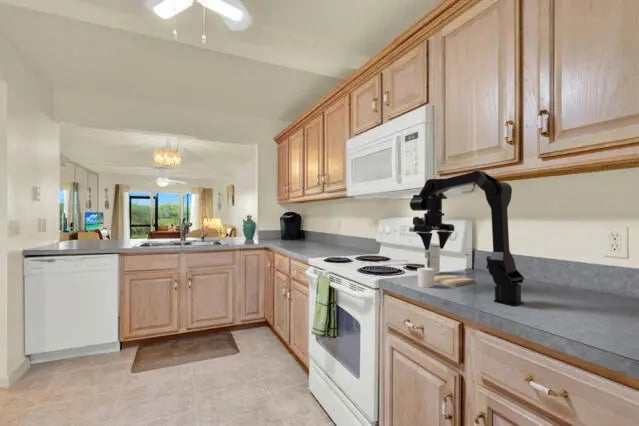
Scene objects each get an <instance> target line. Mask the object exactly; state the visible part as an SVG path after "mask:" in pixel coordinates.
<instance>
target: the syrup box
mask: <svg viewBox="0 0 639 426" xmlns="http://www.w3.org/2000/svg"><path fill="white" fill-rule="evenodd" d="M440 251H441V249H440V245H439V244H437V243H432V242H430V246H429V250H425V249H424V268H433V269H435V275H440V268H441V267H440V266H441V265H440V262H441V261H440V260H441V259H440V257H441V255H440V253H441V252H440Z"/></svg>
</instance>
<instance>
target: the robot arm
mask: <svg viewBox="0 0 639 426" xmlns="http://www.w3.org/2000/svg"><path fill="white" fill-rule="evenodd" d="M473 184H476V185H477V186H478V188H480V189H481V190H482V191H483V192H484V194H485V198H486V202H487V203H488V206H489V207H490V211H491V212H490V214H491V230H492V231H491V232H492V233H491V234H492V235H491V236H492V253H491V255H486V262H487V264H486V269H488V274H489V275H491V277H492V280H493V283H494V284H495V286H494V299H493V302H496V303H499V304H504V305H509V306H515V307H516V306H519V305H521V304H524V301H523V300H522V284H523V282H524V280H525V277H524V276H523V275H522V273H521V272H520V271H519V270H518V269H517V268H516V262H515V259H514V257H513V255H512V253H511V251H510V239H509V237H510V236H509V218H508V217H509V216H508V207H509V205H510V202H511V200H512V193H513V188H512V186H511V185H510V183H508V182H506V181H505V182H504V181H500V180H499V179H497V178H495V177H494V176H491V175H489V174H488V173H487V172H485V171H482V170H474V171H472V172H468V173H464V174H458V175H455V176H451V177H447V178H428V179H426V180H425V183H424V185H423V187H422V189H421V191H420V192H419V194H413V195H412V196H413V197H412V198H411V199H410V201H409V207H410V209H411V210H412V212H413V211H415V212H420V211H422V212H423V211H424V212H425V213H424V214H423V217H420V216H414V217H412V225H413V232H415V234H417V235H418V236H419V237H420V239H421V241H422V243H423V246H424V251H425V250H429V246H430V243H432V237H433V232H432V231H435V232H436V234H437V235H438V241H439V244H438V245H440V250H443V249H444V247H445V245H446V244H447V242H448V240H449V238H450V237H451V234H453V232H455V225H454V224H453V223H451V224H450V223H443V217H444V216H445V213H444V212H443V200H447V199H448V196H446V195H445V194H444V193H446V192H448V191H449V190H451V189H455V188H459V187H464V186H468V185H469V186H470V185H473Z"/></svg>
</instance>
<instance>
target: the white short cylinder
mask: <svg viewBox="0 0 639 426" xmlns="http://www.w3.org/2000/svg"><path fill="white" fill-rule="evenodd" d="M416 269H417V282H418V286H419V287H420V288H425V287H427V288H428V289H429V288H430V287H432V288H434V287H433V286H435V284H434V283H435V282H434V276H436V274H435V269H433V268H425V266H424V267H418V268H416ZM427 288H426V289H427ZM430 289H431V288H430Z"/></svg>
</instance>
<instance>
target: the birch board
mask: <svg viewBox="0 0 639 426" xmlns="http://www.w3.org/2000/svg"><path fill="white" fill-rule="evenodd" d="M434 283H436V284H440V285H445V286H451V287H455V288H456V287H459V286H466V285H470V284H474V283H476V279H473V278H468V277H462V276H457V275H451V274H446V273H445V274H438V275H435V276H434Z"/></svg>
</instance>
